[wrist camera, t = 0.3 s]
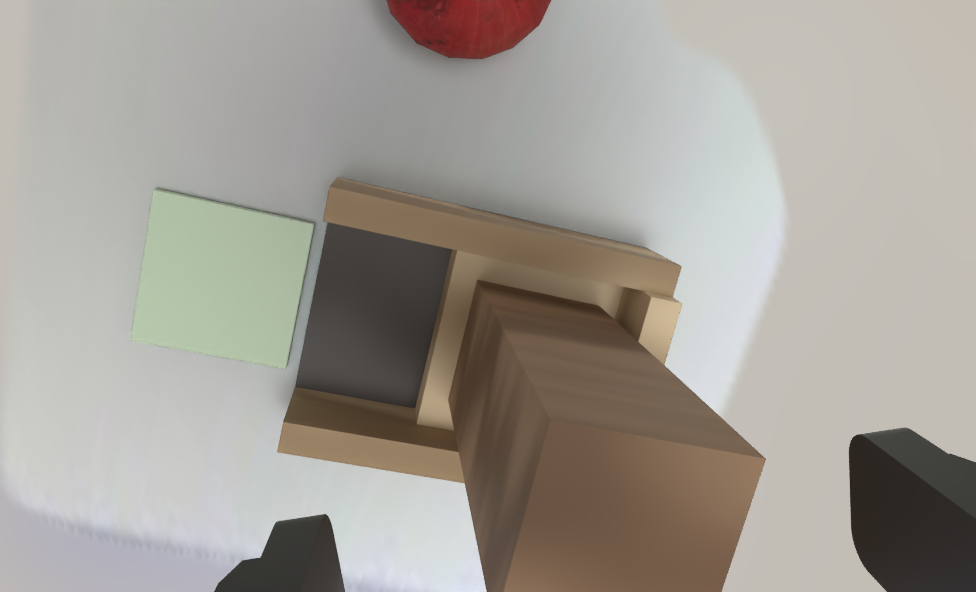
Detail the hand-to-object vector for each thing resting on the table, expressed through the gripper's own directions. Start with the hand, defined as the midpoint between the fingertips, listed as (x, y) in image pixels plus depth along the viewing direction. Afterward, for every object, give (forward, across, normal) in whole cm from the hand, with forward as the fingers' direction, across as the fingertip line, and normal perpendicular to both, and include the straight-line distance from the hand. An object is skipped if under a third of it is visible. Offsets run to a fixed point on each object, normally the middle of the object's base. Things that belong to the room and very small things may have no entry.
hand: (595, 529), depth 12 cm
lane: (+20, +2, +2) cm, 21 cm away
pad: (+20, +11, -1) cm, 23 cm away
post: (+19, 0, +3) cm, 19 cm away
